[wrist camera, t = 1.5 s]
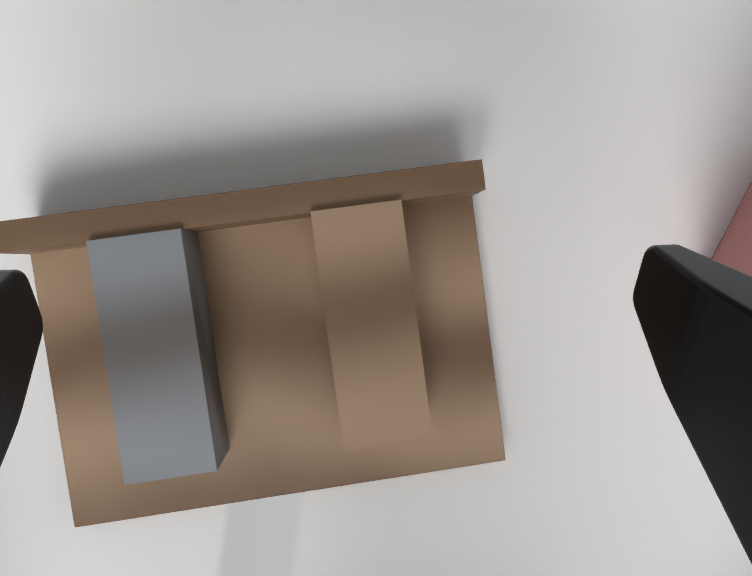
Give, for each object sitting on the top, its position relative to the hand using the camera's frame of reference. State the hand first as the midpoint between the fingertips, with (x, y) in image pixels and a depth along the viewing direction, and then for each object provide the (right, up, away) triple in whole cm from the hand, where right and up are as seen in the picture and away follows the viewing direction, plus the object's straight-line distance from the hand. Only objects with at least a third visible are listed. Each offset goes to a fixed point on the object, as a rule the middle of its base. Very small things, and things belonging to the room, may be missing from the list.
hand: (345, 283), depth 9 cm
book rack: (-3, -2, +15) cm, 15 cm away
